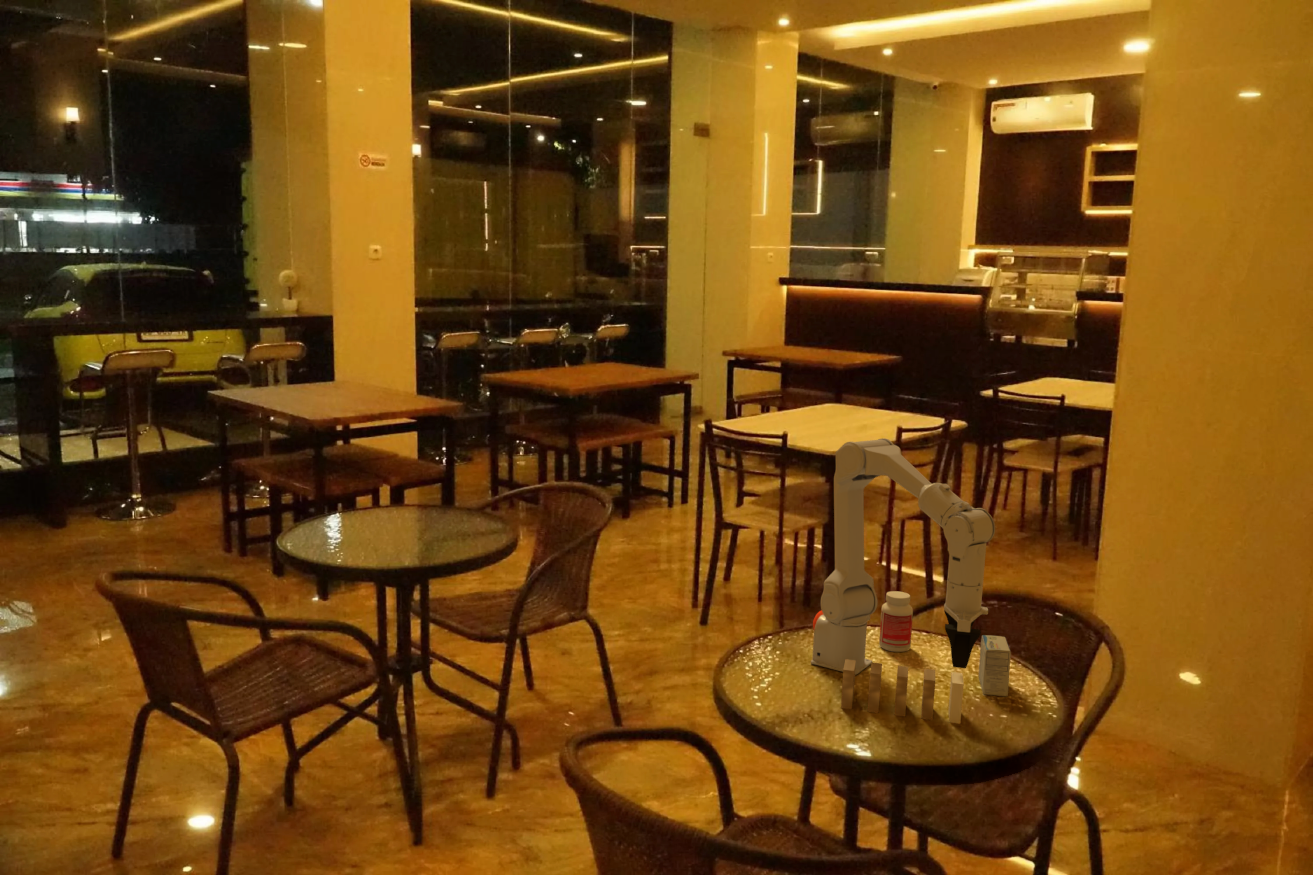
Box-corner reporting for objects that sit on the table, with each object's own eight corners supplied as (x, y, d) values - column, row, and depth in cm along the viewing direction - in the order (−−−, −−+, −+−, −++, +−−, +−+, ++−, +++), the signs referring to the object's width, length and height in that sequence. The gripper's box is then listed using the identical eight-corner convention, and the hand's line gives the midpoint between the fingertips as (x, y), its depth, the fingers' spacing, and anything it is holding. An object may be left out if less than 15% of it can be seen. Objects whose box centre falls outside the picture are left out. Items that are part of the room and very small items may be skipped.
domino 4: (921, 718, 176) (924, 679, 175) (921, 706, 181) (924, 668, 180) (932, 719, 176) (935, 680, 174) (932, 707, 180) (935, 669, 179)
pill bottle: (915, 651, 206) (919, 598, 205) (887, 653, 205) (891, 600, 203) (901, 640, 212) (905, 588, 211) (873, 642, 211) (877, 590, 209)
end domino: (949, 722, 175) (952, 682, 174) (948, 709, 180) (951, 671, 179) (960, 723, 175) (963, 684, 173) (959, 711, 179) (962, 672, 178)
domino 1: (840, 707, 179) (843, 669, 178) (843, 696, 184) (845, 659, 183) (851, 709, 179) (853, 670, 178) (853, 697, 184) (855, 660, 183)
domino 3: (894, 714, 177) (897, 676, 176) (895, 703, 182) (897, 665, 181) (905, 716, 177) (907, 677, 176) (905, 704, 182) (908, 666, 180)
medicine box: (1007, 697, 186) (1012, 651, 184) (981, 694, 187) (985, 648, 185) (1002, 680, 193) (1006, 636, 192) (977, 677, 194) (981, 633, 193)
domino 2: (867, 711, 178) (870, 672, 177) (869, 699, 183) (871, 662, 182) (878, 712, 178) (880, 674, 177) (879, 701, 183) (882, 663, 181)
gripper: (992, 596, 165) (985, 677, 168) (987, 571, 179) (981, 646, 181) (946, 592, 167) (940, 672, 169) (945, 567, 181) (939, 641, 183)
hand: (958, 658), depth 175 cm, fingers open, 7 cm apart
